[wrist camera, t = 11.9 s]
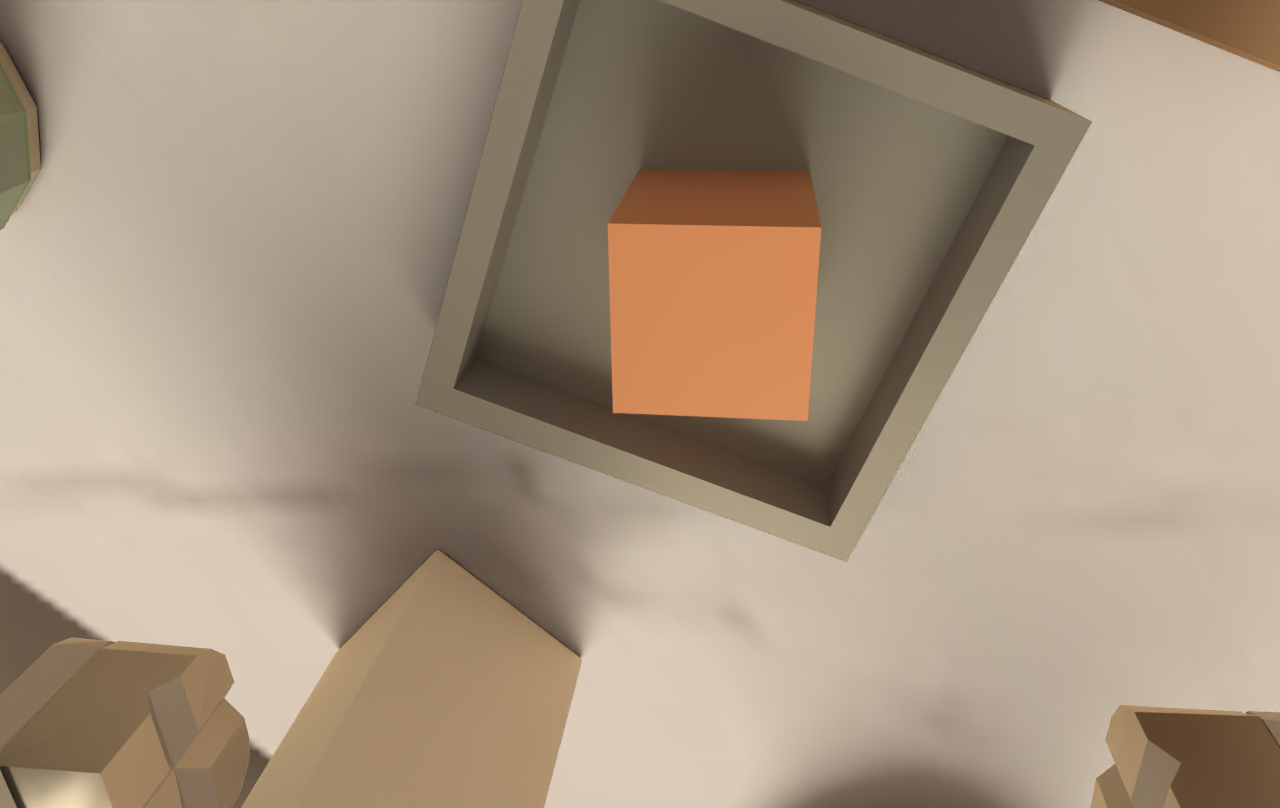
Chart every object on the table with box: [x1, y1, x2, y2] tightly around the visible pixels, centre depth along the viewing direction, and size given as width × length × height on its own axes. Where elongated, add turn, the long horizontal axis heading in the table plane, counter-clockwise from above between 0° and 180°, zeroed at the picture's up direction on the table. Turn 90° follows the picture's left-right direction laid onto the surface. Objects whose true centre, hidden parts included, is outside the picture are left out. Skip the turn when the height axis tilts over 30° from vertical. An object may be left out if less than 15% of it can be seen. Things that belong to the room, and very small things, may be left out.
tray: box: [416, 0, 1092, 562], centre depth 23 cm, size 12×12×3 cm
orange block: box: [608, 169, 821, 421], centre depth 21 cm, size 4×4×5 cm
